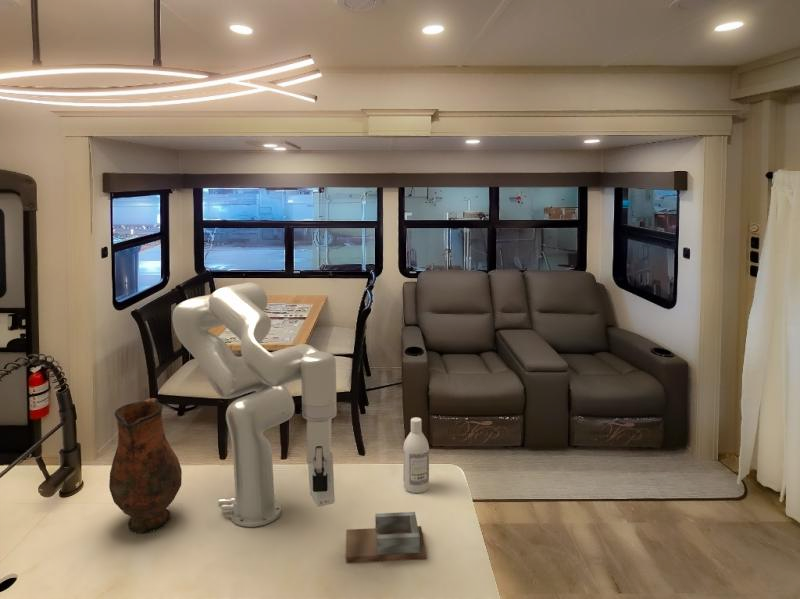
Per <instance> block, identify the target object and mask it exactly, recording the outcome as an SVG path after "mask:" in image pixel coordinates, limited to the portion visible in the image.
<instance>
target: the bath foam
mask: <svg viewBox="0 0 800 599" xmlns="http://www.w3.org/2000/svg"><path fill="white" fill-rule="evenodd" d="M422 423H423V422H422V418H420V417H418V416H417V417H416V416H415V417H411V419H410V432H409V433H408V435H407V437H406V438H405V439H404V441H403V448H402V449H403V451H402V452H403V458H402V459H403V462H402V463H403V466H402V467H403V468H402V469H403V470H402V471H403V488H404V489H405V491H407V492H408V493H412V494H421V493H424V492H427V491H428V489H429V486H430V446H429V442H428V441H429V440H428V439H427V438H426V436H425V434H424V432H423V430H422V425H423V424H422Z"/></svg>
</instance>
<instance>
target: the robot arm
mask: <svg viewBox="0 0 800 599" xmlns="http://www.w3.org/2000/svg"><path fill="white" fill-rule="evenodd" d="M267 306H268V296H267V294H266V291H265V290H264V288H262V287H261V285H259V284H257V283H254V282H244V283H238V284H232V285H226V286H223V287H220V288H218V289H216V290H215V291H213V292H212V293H211V294H207V295H202V296H201V295H200V296H196V297H192V298H189V299H186V300H183V301H182V302H180V303H178V304H177V305H176V306H175V308H173V310H172V317H171V318H172V326H173V330H174V333H175V335H176V337H177V339H178V340H179V342H180V343H181V344H182V346H183V347H184V348H185V349H186V350H187V351H188V352H189V353H190V355H191V356H192V357H193V358H194V359H195V361H196V362H197V363H198V365H199V368H200V369H201V371H202V372H203V374H204V376H205V377H206V379H207V380H208V382H209V384H210V386H211V387H212V389H213V390H214V391H215V393H216V394H217V395H218V396H219V397H220V398H221V399H224V400H226V399H227V400H228V399H234V398H237V397H239V398H237V399H235V400H233V401H232V402H231V403H230V404H229V405H228V407H227V409H226V412H225V421H226V425H227V428H228V431H229V435H230V440H231V441H230V442H231V448H232V450H231V451H232V460H233V461H232V462H233V479H234V492H235V493H234V494H235V496H232V497H231V498H219V499H218V507H219V508H221V511H224V512H225V511H230V514H229V516H230V520H231V522H233V523H234V524H235V525H238V526H240V527H245V528H247V527H248V528H252V527H253V528H255V527H262V526H265V525H268V524H270V523H272V522H274V521H276V520H277V518H279V517H280V515H281V513H282V506H281V504H280V502H279V501H277V500H275V487H274V486H275V484H274V467H273V465H274V464H273V451H272V445H271V443H270V441H269V440H268V439H267V438H266V437H265V436H264V432H265V431H266V430H268V429H271V428H273V427H275V426H278V425H280V424H283V423H285V422H287V421H289V420H290V419H291V417H293V415H294V413H295V402H294V399H293V397H292V396H293V395H291V392H290V391H289V388H288V387H287V386H286V384H289V383H293V382H295V381H298V380H301V382H300V383H301V413H302V416H301V417H302V418H304V419H305V420H306V462H307V465H308V464H310V463H312V462H313V491H314V492H326V491H327V490H328V482H327V474H326V463H327V462H328V461H329V456H330V452H331V445H332V420H333V418H334V419H335V417H337V414H338V411H337V408H338V407H337V362H336V361H337V360H336V358H335V356H334V355H333V354H332V353H330V352H326V351H320V350H319V349H317V348H315V347H314V346H312V345H311V344H310V345H309V344H307V343H301V344H296V345H293V346H288V347H285V348H281V349H278V350H275V351H272V352H270V351H268V350H267V349H266V348H265V347H264V346H262V345H261V343H262V342H263V340H264V339H265V338H267V336H268V334H269V332H270V330H271V328H272V320H271V318H270V316H269V315H268V314H267V313H266V312H265V310H266V308H267ZM221 326H224V327H226V328H227V330H228V331H230V332H232V334H233V335H235V336H236V338H238V339H239V340H240V354H241V356H236V355H235V354H234V353H233V351H232V350H231V348H230V347H229V345H228V344H227V342H226V341H224V340H223V339H222V338H221V337H220V336H218V335H216V334H215V333H212V332H210V331H209V329H212V328H213V329H214V328H217V327H221ZM251 392H253V393H251ZM248 393H250V394H248ZM243 395H244V396H243ZM240 396H242V397H240ZM322 451H323V452H322ZM315 457H316V461H315ZM322 458H324V461H322ZM322 464H324V469H323V467H322Z"/></svg>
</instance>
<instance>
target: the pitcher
mask: <svg viewBox="0 0 800 599" xmlns="http://www.w3.org/2000/svg"><path fill="white" fill-rule="evenodd" d="M163 408H164V405H163V404H162V403H160V400H159V399H158V398H154V397H152V398H146V399H144V400H143V401H137V402H132V403H128V404H125V405H123V406H120V407H118V408H117V409H116V410H115V411H114V417H115V419H116V423H117V424H116V425H117V430H118V433H117V436H118V437H117V447H116V450H115V453H114V456H113V459H112V465H111V467H110V470H109V472H110V473H109V480H108V481H109V483H108V484H109V486H108V487H109V492H110V494H111V497H112V500H113V503H114V504H115V505H116V506H117V507H118V508H119V510H121V512H123V513H124V514H125V515H127V516H128V517H130V518H129V520H128V521H127V523H128V524H127V528H128V527H129V528H128V530H129V531H131V532H132V531H133V532H132V533H134V532H136V533H135V534H147V532H148V533H151V532H150V531H152V532H154V531H153V530H156V531H157V529H158V530H159V528H160V529H162V528H164V527H165V526H166V525H167V524H168V523H169V522H168V521H171V520H170V519H171V516H172V515H171V512H170V510H169V509H167V508H169V506H170V505H171V504H172V503H173V501H174V500H175V498H176V496H177V495H178V492H179V490H180V488H181V487H182V477H183V476H182V475H183V474H182V472H183V471H182V467H181V464H180V462H179V461H180V460H179V459H178V456H177V454H176V453H175V451H174V449H173V448H172V447H171V445H170V443H169V441H168V439H167V438H166V435H165V434H166V433H165V430H164V425H163V415H162V414H163ZM167 522H168V523H167ZM166 523H167V524H166ZM165 524H166V525H165ZM164 525H165V526H164ZM161 527H162V528H161Z"/></svg>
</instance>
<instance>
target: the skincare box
mask: <svg viewBox="0 0 800 599" xmlns="http://www.w3.org/2000/svg"><path fill="white" fill-rule="evenodd" d="M322 452H323V451H322ZM333 458H334V454H333V453H332V452H331V451H330V456H329V461H328V462H327V463H326V474H327V482H328V490H327V491H326V492H314V491H313V462H312V463H310V464H308V463H307V468H308V469H307V470H308V482H309V483H308V484H309V485H308V486H309V495H310V497H311V498H312V500H313V501H314V502H315V505H317V507H324V506H328V505H331V504H334V503H335V502H336V496H335V481H334V480H335V479H334V478H335V477H334V476H335V475H334V460H333ZM315 461H316V457H315ZM322 461H324V458H322ZM322 467H323V469H324V464H322Z"/></svg>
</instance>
